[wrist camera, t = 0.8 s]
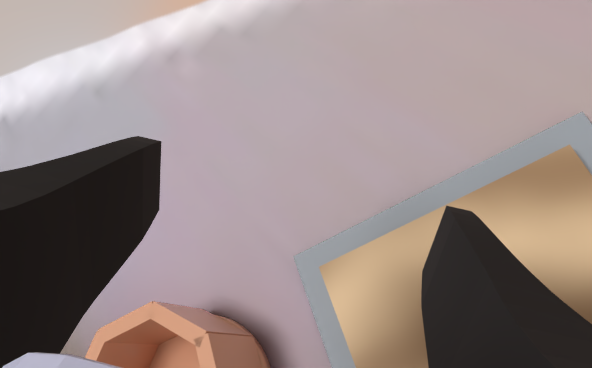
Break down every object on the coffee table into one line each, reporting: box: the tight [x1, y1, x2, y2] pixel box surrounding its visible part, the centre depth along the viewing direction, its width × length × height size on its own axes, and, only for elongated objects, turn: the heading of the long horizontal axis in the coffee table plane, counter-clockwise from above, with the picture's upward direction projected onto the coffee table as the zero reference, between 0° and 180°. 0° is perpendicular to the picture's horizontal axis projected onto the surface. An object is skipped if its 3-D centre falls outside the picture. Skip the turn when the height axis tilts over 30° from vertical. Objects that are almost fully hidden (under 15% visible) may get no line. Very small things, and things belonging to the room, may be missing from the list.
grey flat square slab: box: [294, 112, 592, 368], centre depth 22 cm, size 16×16×1 cm
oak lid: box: [319, 144, 592, 368], centre depth 20 cm, size 13×13×4 cm
